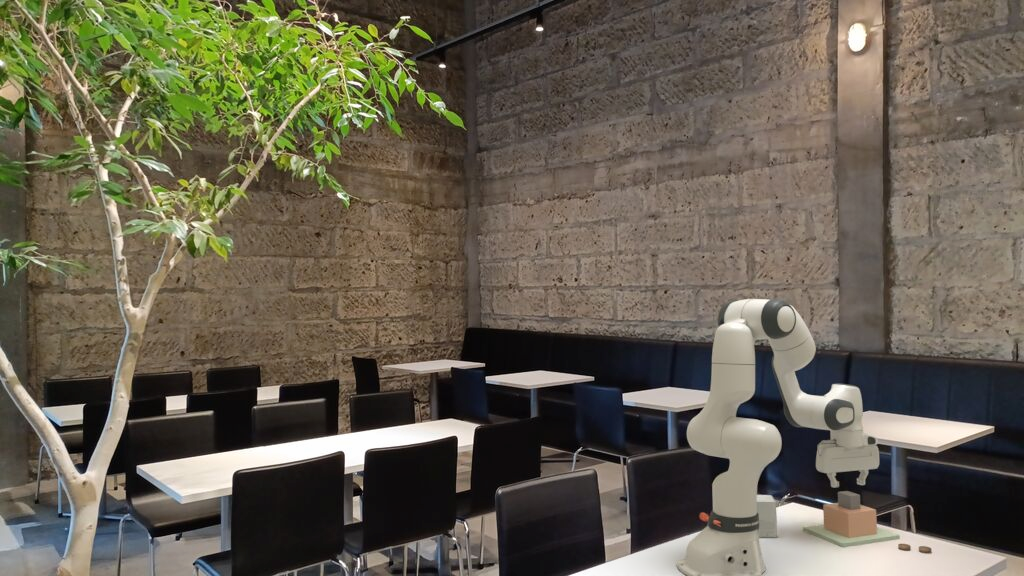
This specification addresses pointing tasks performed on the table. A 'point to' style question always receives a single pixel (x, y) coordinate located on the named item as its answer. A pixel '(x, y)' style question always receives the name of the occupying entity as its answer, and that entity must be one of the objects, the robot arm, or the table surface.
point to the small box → (767, 516)
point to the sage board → (845, 542)
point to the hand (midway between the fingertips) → (848, 485)
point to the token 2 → (925, 549)
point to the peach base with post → (849, 516)
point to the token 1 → (904, 547)
